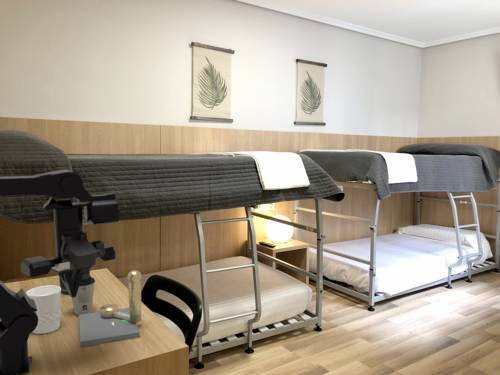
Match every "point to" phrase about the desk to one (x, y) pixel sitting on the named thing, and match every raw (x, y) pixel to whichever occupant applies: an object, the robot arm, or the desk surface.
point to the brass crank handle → (134, 301)
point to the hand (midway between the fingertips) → (73, 296)
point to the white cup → (47, 307)
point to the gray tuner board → (105, 328)
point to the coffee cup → (84, 296)
